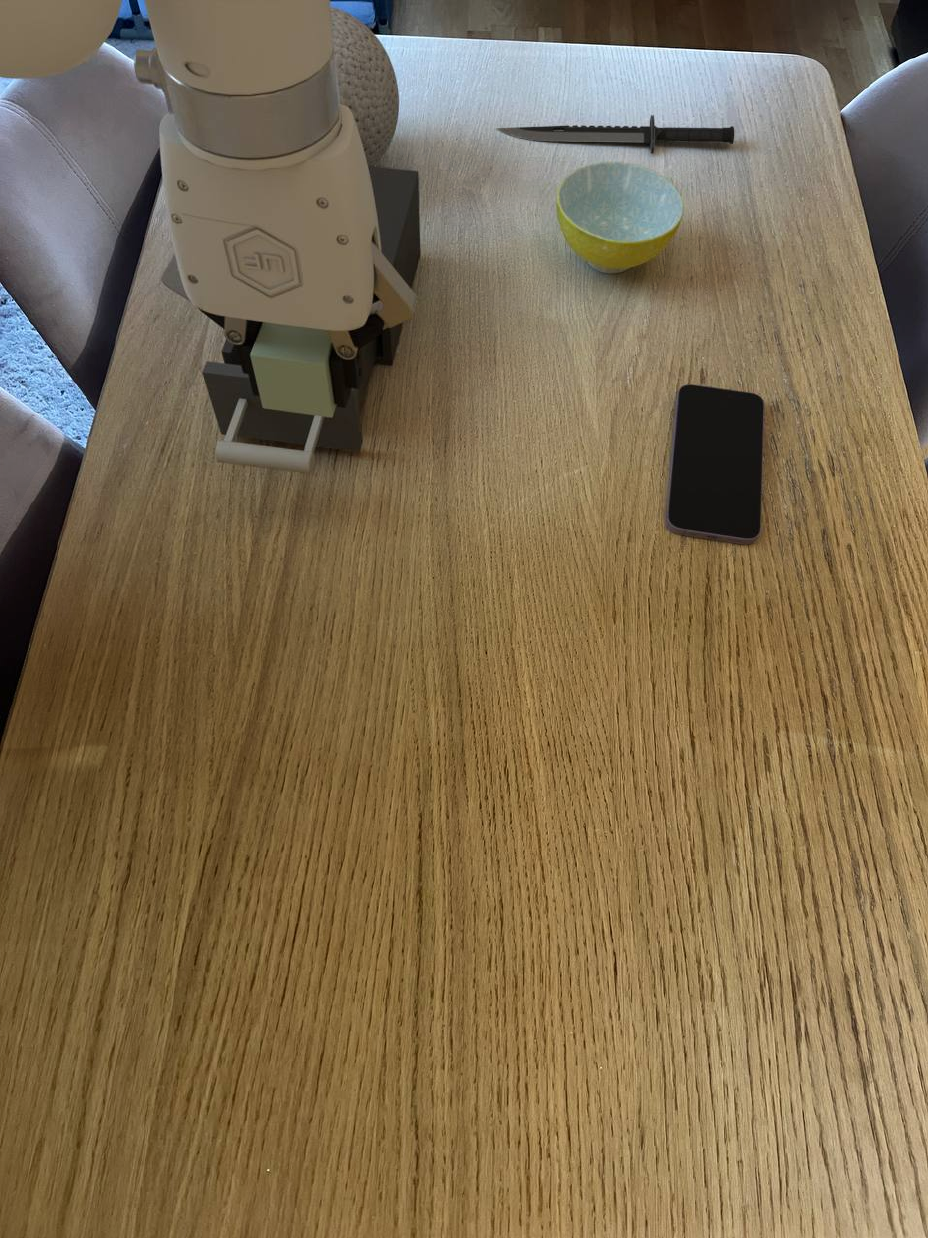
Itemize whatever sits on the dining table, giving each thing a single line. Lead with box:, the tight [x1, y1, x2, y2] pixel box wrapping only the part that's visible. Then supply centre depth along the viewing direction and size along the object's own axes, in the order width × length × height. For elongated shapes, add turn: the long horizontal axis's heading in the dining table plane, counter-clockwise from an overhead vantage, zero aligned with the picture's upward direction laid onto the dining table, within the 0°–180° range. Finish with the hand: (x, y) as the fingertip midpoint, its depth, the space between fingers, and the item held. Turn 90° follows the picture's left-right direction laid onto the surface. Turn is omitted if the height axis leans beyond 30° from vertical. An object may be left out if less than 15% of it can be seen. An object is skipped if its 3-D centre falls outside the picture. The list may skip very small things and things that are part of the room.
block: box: [250, 322, 336, 418], centre depth 55 cm, size 4×4×4 cm
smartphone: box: [664, 383, 766, 545], centre depth 73 cm, size 7×1×15 cm
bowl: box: [556, 161, 685, 275], centre depth 84 cm, size 11×12×6 cm
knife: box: [496, 114, 736, 155], centre depth 95 cm, size 25×2×5 cm
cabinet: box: [368, 166, 422, 367], centre depth 79 cm, size 15×13×9 cm
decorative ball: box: [331, 6, 400, 167], centre depth 85 cm, size 15×15×15 cm
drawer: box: [201, 292, 382, 475], centre depth 72 cm, size 19×11×7 cm, turn 172°
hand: (305, 383), depth 56 cm, fingers closed on block, 4 cm apart
